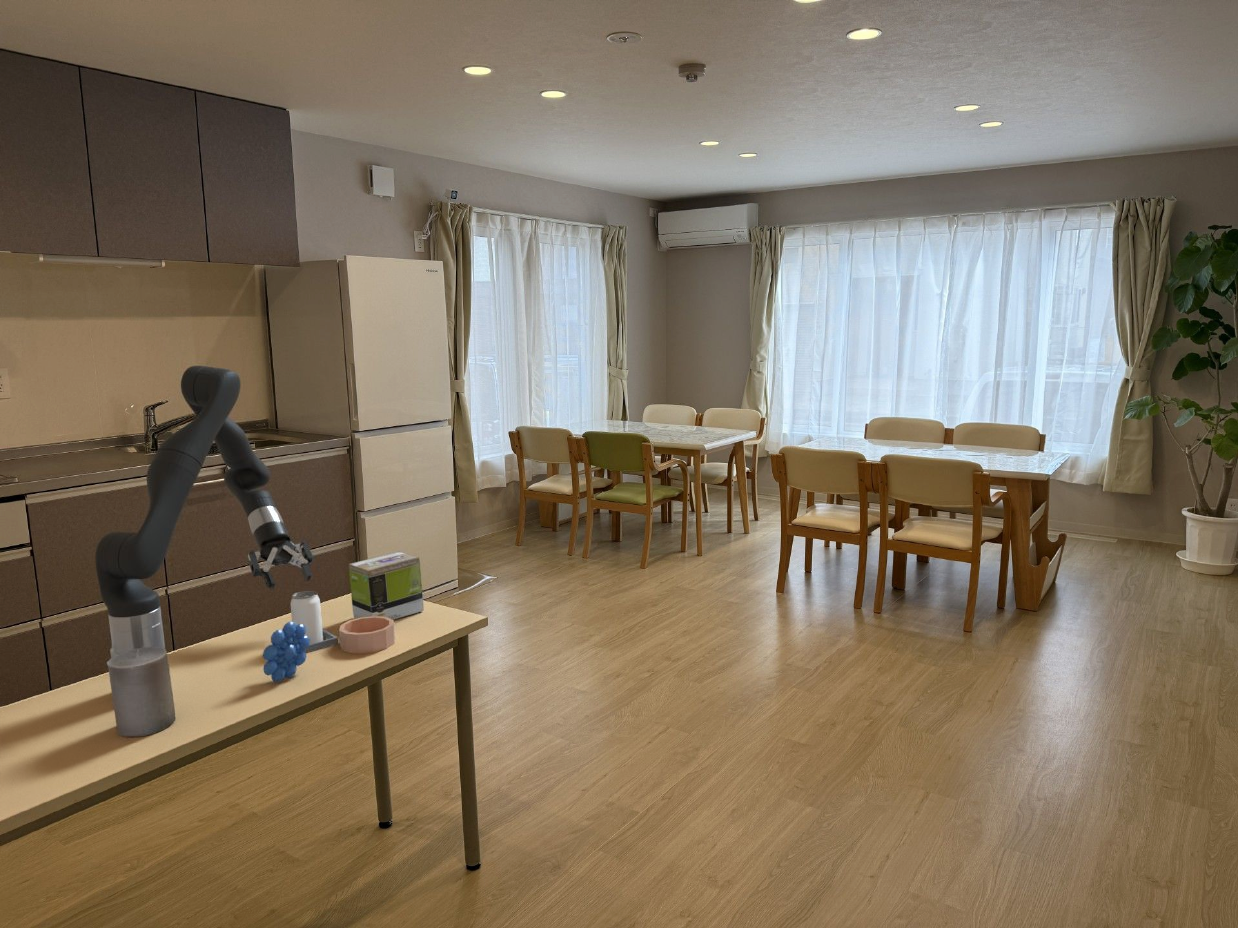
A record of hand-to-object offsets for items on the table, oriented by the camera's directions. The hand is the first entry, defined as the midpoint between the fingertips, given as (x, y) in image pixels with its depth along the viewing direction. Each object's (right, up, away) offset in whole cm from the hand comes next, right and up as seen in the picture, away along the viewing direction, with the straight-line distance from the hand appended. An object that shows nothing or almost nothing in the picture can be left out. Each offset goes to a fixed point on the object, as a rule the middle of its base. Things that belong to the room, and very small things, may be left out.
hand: (291, 583), depth 201 cm
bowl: (+20, -13, -4) cm, 24 cm away
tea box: (+19, -11, +16) cm, 27 cm away
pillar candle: (-10, -21, -43) cm, 49 cm away
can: (+5, -14, -3) cm, 15 cm away
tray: (+5, -14, -3) cm, 15 cm away
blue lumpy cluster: (+8, -17, -22) cm, 29 cm away
